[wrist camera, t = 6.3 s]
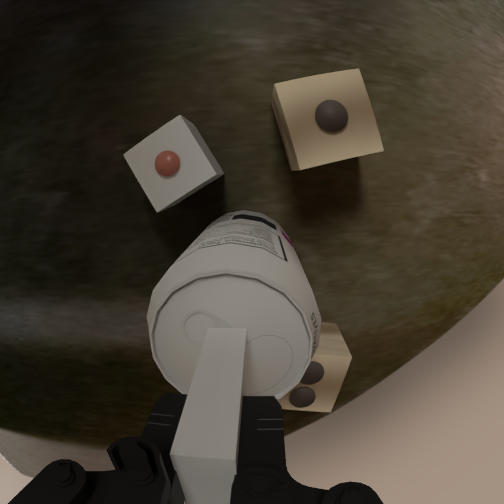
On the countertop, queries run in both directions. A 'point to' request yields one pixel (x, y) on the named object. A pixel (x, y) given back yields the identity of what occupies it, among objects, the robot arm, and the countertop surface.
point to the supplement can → (237, 304)
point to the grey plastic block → (173, 163)
